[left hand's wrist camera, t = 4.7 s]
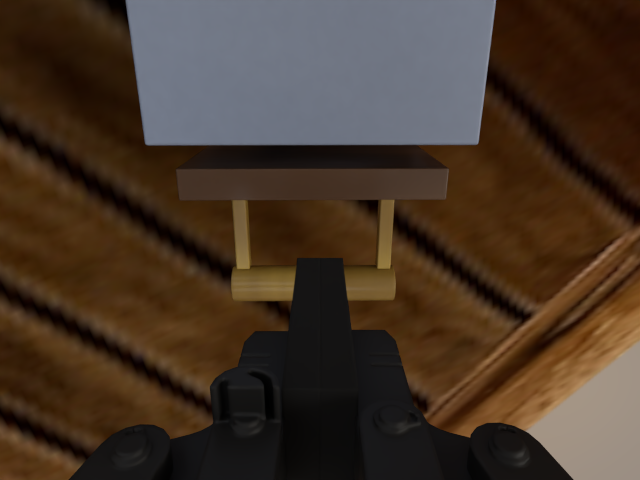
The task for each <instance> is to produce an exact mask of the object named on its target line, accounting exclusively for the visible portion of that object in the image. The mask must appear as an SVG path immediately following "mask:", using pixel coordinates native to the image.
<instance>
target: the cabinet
mask: <svg viewBox="0 0 640 480" xmlns="http://www.w3.org/2000/svg"><path fill="white" fill-rule="evenodd" d="M495 4H496V0H126V7H127V15H128V22H129V29H130V36H131V44H132V51H133V58H134V66H135V73H136V80H137V88H138V95H139V102H140V109H141V117H142V124H143V131H144V139H145V144H146V145H476V144H478V141H479V133H480V125H481V117H482V109H483V101H484V93H485V85H486V77H487V69H488V61H489V53H490V45H491V37H492V29H493V21H494V12H495Z"/></svg>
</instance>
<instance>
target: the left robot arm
mask: <svg viewBox="0 0 640 480" xmlns="http://www.w3.org/2000/svg"><path fill="white" fill-rule="evenodd" d="M210 394H211V403H212V413H213V424H212V425H211V426H209V427H207V428H205V429H203V430H202V431H199V432H196V433H193V434H190V435H186V436H182V437H178V438H174V439H170V437H169V435H168V434H167V433H166V432H165V430H164V429H162V428H160V427H157V426H155V425H136V426H132V427H128V428H125V429H123V430H121V431H119V432H117V433H115V434H113V435H111V436H110V437H109V438H108V439H107V440H105V441H104V442H103V443H102V444H101V445H100V446H99V447H98V448H97V449H96V450H95V451H94V452H93V454H92V455H91V456H90V457H89V458H88V459H87V460H86V461H85V462H84V464H83V465H82V466H81V467H80V468H79V469H78V470H77V471H76V472H75V473H74V475H73V476H72V477H71V478H70V479H69V480H573V479H572V478H571V476H570V475H569V474H568V473H567V472H566V471H565V470H564V469H563V468H562V467H561V465H560V464H559V463H558V462H557V461H556V460H555V459H554V458H553V457H552V456H551V455H550V453H549V452H548V451H547V450H546V449H545V448H544V447H543V446H542V445H541V443H540V442H538V441H537V440H536V439H535V438H534V437H532V436H531V435H530V434H529V433H527V432H525V431H523V430H521V429H519V428H517V427H515V426H512V425H508V424H503V423H486V424H484V425H481V426H479V427H477V428H476V429H475V430H474V431H473V433H472V434H471V437H470V438H469V437H465V436H461V435H457V434H453V433H449V432H446V431H443V430H440V429H438V428H436V427H434V426H432V425H431V424H429V423H428V422H427V421H426V419H425V417H424V416H423V414H422V412H421V411H420V410H418V409H417V408H416V407H415V406H414V404H413V400H412V397H411V393H410V390H409V386H408V383H407V379H406V376H405V372H404V369H403V366H402V362H401V358H400V356H399V351H398V348H397V344H396V341H395V340H394V339H393V338H392V337H391V336H390V335H389V334H388V333H387V332H386V331H385V330H351V322H350V314H349V306H348V298H347V290H346V282H345V274H344V265H343V258H297V265H296V274H295V282H294V290H293V298H292V306H291V314H290V322H289V330H288V331H255V332H254V333H253V334H252V335H251V336H250V337H249V338H248V339H247V340H246V341H245V342H244V346H243V349H242V353H241V357H240V360H239V364H238V367H236V368H233V369H230V370H227V371H225V372H223V373H222V374H221V375H219V376H218V377H216V378H215V380H214V381H213V383H212V384H211V386H210Z"/></svg>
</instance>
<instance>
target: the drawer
mask: <svg viewBox="0 0 640 480" xmlns="http://www.w3.org/2000/svg"><path fill="white" fill-rule="evenodd" d="M448 172H449V168H447V167H446V166H444V165H443V164H442V163H440V162H439V161H438V160H436V159H435V158H433V157H432V156H431V155H429V154H428V153H426V152H425V151H424V150H422V149H421V148H419V147H418V146H417V145H210V146H208V147H207V148H205V149H204V150H202V151H201V152H200V153H198V154H197V155H195V156H194V157H192V158H191V159H190V160H188V161H187V162H185V163H184V164H182V165H181V166H180V167H178V168H177V169H176V177H177V185H178V194H179V200H232V212H233V226H234V240H235V254H236V266H234V267H233V270H232V277H231V292H232V298H233V300H234V301H292V298H293V290H294V282H295V274H296V265H285V266H251V251H250V234H249V217H248V200H379V202H378V223H377V243H376V265H344V274H345V282H346V290H347V298H348V301H351V300H393V299H394V297H395V289H396V280H395V271H394V267H393V266H392V265H390V263H391V247H392V231H393V214H394V200H445V199H446V192H447V182H448Z"/></svg>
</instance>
